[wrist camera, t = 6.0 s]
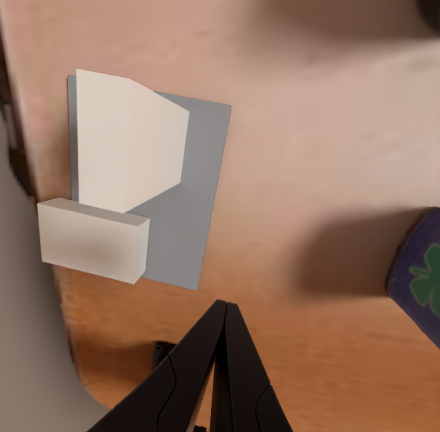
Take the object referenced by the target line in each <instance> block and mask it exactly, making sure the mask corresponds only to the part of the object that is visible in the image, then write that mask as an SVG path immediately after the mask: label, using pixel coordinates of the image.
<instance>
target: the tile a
mask: <svg viewBox="0 0 440 432" xmlns="http://www.w3.org/2000/svg"><path fill="white" fill-rule="evenodd" d="M37 207H38V219H39V230H40V242H41V253H42V261H43V262H48V263H51V264H55V265H59V266H63V267H67V268H71V269H75V270H79V271H83V272H87V273H91V274H95V275H99V276H103V277H107V278H111V279H115V280H119V281H123V282H127V283H131V284H135V282H136V281H137V280H138V279H139V278H140V276H141V275H142V274H143V273H144V272H145V268H146V257H147V246H148V235H149V224H150V218H147V217H143V216H139V215H134V214H130V213H120V212H115V211H111V210H107V209H102V208H98V207H94V206H89V205H85V204H80V203H79V202H77V201H73V200H68V199H64V198H60V197H59V198H55V199H51V200H48V201H44V202H40V203H37Z"/></svg>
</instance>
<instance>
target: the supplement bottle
mask: <svg viewBox="0 0 440 432" xmlns="http://www.w3.org/2000/svg"><path fill="white" fill-rule="evenodd" d="M418 4H419V8H420V10H421V13H422V15H423V16H424V18H425V19H426V21H427V22H428V23H429V24H430V25H432V26H433V27H434V28H436V29H438V30H440V0H418Z"/></svg>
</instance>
